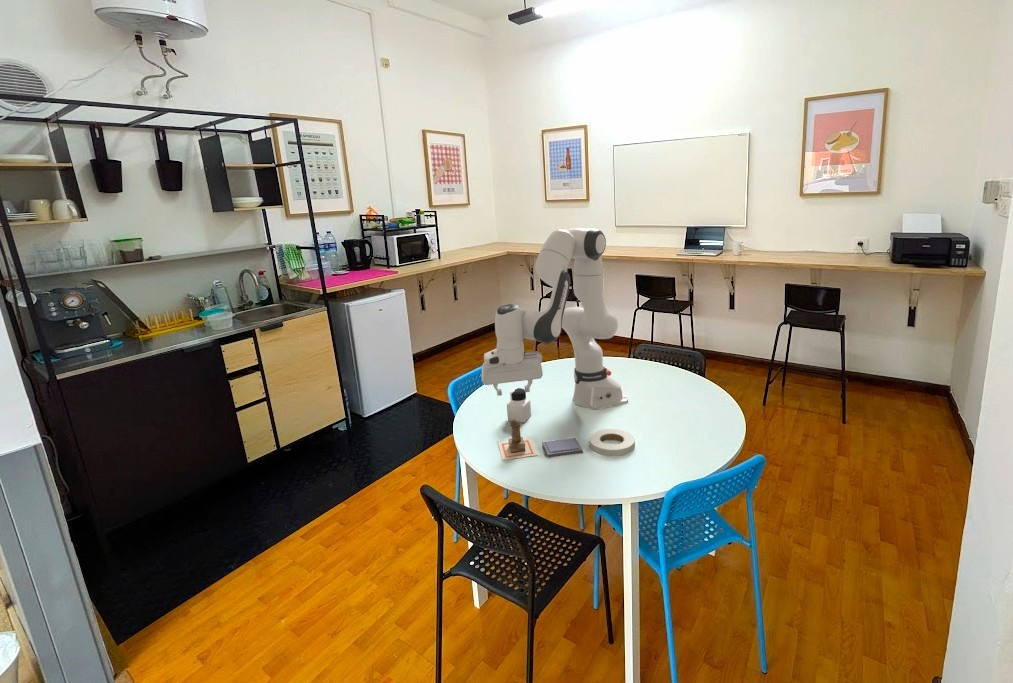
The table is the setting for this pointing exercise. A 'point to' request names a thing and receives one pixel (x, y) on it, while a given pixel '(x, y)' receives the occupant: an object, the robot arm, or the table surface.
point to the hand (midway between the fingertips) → (513, 393)
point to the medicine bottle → (518, 406)
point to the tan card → (507, 453)
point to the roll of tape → (608, 449)
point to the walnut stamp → (516, 438)
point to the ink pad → (562, 447)
